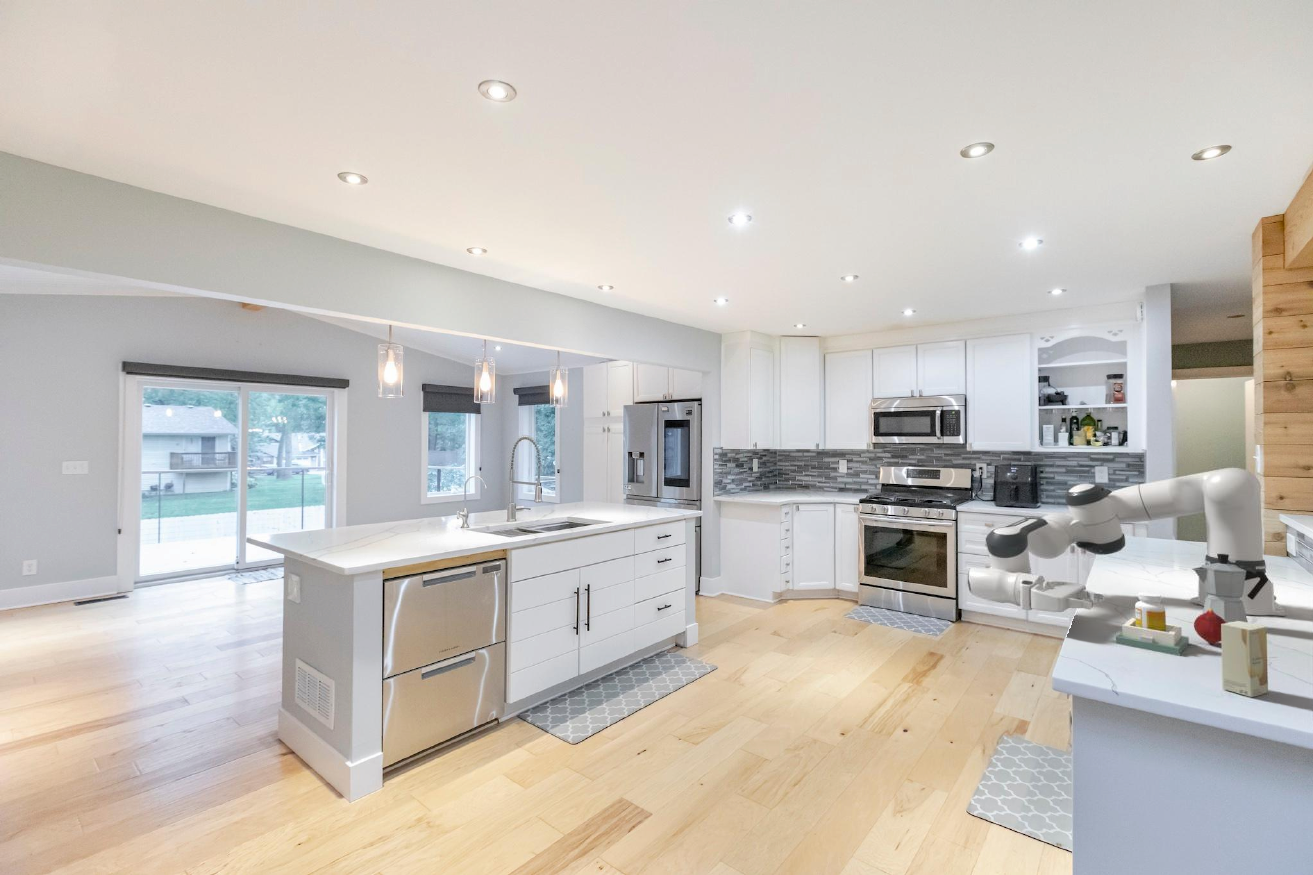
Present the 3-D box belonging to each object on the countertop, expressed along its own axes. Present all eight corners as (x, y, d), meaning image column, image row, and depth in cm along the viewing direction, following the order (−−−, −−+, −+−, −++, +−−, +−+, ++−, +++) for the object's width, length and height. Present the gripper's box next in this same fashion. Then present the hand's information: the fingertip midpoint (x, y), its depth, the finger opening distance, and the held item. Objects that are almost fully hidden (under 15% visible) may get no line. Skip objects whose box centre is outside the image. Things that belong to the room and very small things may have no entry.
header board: (1128, 632, 144) (1128, 615, 144) (1188, 643, 135) (1188, 625, 135) (1115, 643, 136) (1115, 625, 136) (1178, 655, 128) (1178, 637, 128)
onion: (1236, 649, 131) (1235, 613, 132) (1206, 647, 133) (1205, 611, 133) (1217, 640, 137) (1216, 606, 137) (1188, 639, 138) (1187, 605, 138)
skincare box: (1252, 698, 106) (1250, 630, 106) (1221, 689, 110) (1219, 623, 110) (1270, 692, 108) (1268, 625, 109) (1239, 683, 112) (1237, 619, 113)
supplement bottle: (1171, 638, 135) (1170, 595, 135) (1158, 641, 132) (1157, 598, 132) (1143, 631, 139) (1142, 590, 140) (1131, 634, 137) (1129, 593, 137)
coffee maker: (1201, 627, 147) (1199, 555, 147) (1185, 618, 155) (1183, 549, 155) (1280, 634, 141) (1278, 558, 142) (1258, 623, 149) (1256, 552, 150)
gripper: (1047, 596, 161) (1109, 607, 150) (1019, 610, 147) (1085, 623, 137) (1046, 573, 161) (1109, 582, 150) (1019, 585, 147) (1085, 596, 137)
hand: (1097, 601), depth 143 cm, fingers open, 8 cm apart
